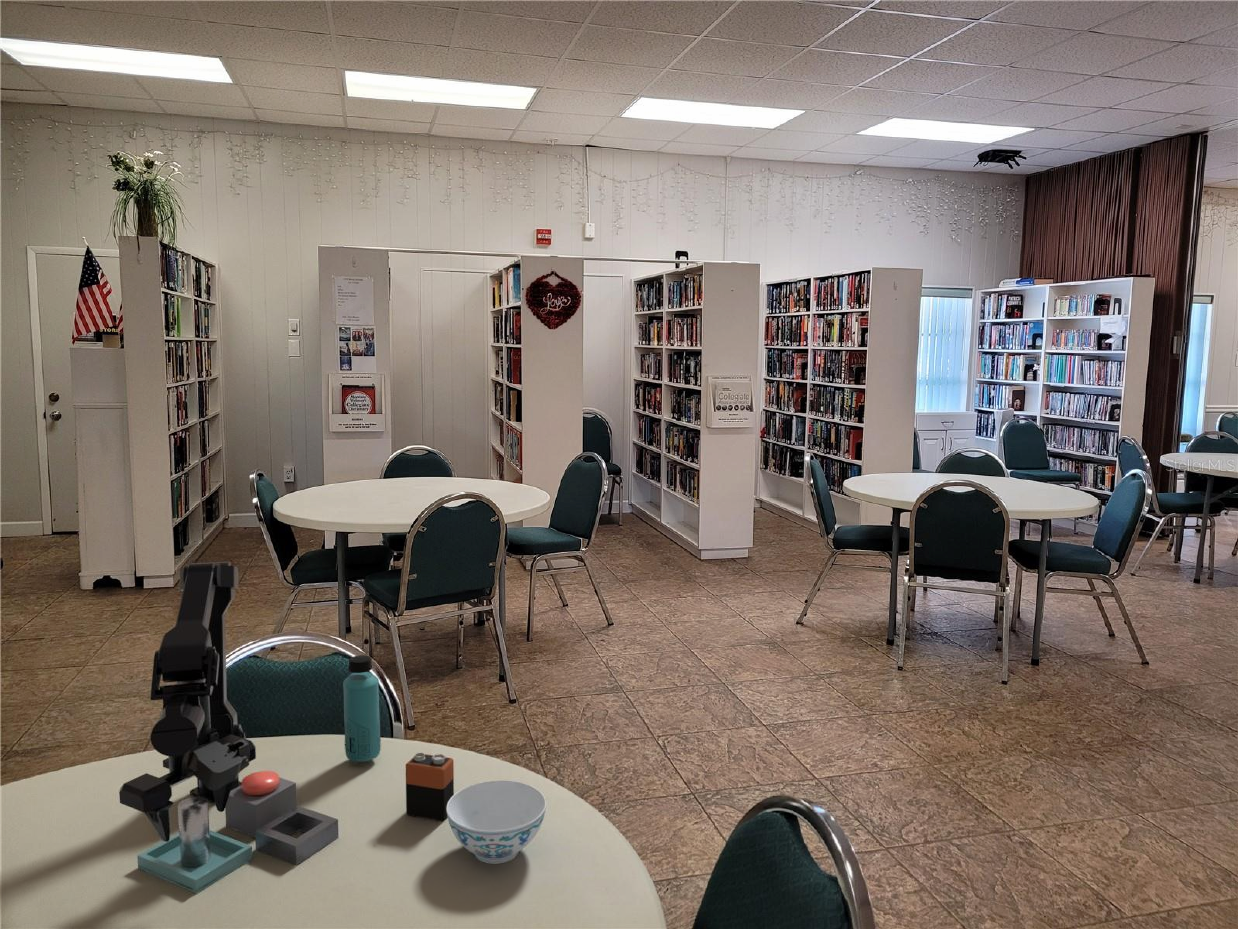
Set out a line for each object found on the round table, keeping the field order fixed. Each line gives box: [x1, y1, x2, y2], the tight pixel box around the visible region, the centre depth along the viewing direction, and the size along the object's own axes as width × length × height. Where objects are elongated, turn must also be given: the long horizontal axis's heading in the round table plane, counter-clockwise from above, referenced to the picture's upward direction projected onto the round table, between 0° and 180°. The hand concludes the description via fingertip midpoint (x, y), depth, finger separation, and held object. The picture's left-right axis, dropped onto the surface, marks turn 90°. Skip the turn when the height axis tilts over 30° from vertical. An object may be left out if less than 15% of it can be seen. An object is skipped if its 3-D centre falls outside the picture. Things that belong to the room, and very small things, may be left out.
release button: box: [240, 770, 280, 797], centre depth 144 cm, size 6×6×4 cm
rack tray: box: [136, 829, 253, 894], centre depth 132 cm, size 13×10×2 cm
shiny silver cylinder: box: [177, 796, 211, 868], centre depth 132 cm, size 4×4×9 cm
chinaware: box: [446, 779, 547, 865], centre depth 136 cm, size 15×15×8 cm
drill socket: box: [254, 805, 339, 866], centre depth 138 cm, size 8×8×3 cm
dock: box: [224, 776, 298, 838], centre depth 144 cm, size 7×8×6 cm
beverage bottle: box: [342, 654, 382, 763], centre depth 163 cm, size 6×7×20 cm
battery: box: [405, 752, 455, 822], centre depth 147 cm, size 4×7×10 cm, turn 75°
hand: (194, 825), depth 132 cm, fingers open, 9 cm apart
